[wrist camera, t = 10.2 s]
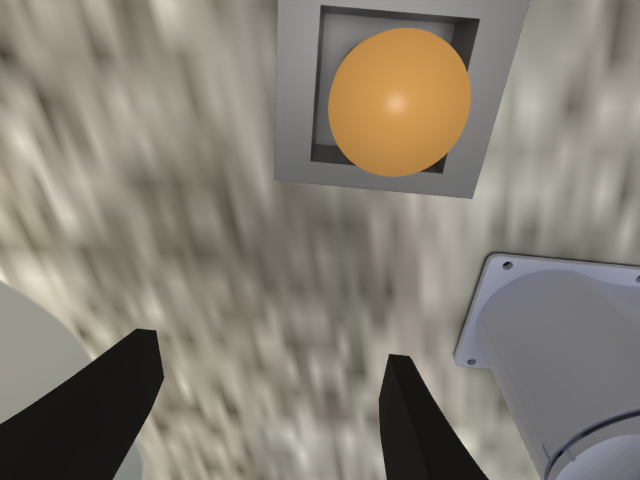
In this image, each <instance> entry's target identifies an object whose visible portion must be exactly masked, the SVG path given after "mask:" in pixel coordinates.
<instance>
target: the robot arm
mask: <svg viewBox="0 0 640 480" xmlns="http://www.w3.org/2000/svg"><path fill="white" fill-rule="evenodd" d="M509 261H510V263H509V264H508V265H506V266H503V264H504V263H505V262H509ZM638 276H640V267H635V266H624V265H614V264H604V263H593V262H583V261H573V260H562V259H552V258H541V257H531V256H521V255H510V254H500V253H497V254H493V255H491V256H489V257H488V259H487V260H486V263H485V266H484V269H483V272H482V275H481V278H480V281H479V284H478V287H477V290H476V293H475V296H474V299H473V302H472V305H471V308H470V310H469V313H468V316H467V319H466V322H465V325H464V328H463V331H462V334H461V337H460V340H459V343H458V346H457V349H456V352H455V355H454V360H455V363H456V364H457V365H458V366H462V367H472V368H481V369H490V370H491V372H492V374H493V376H494V378H495V381H496V383H497V385H498V387H499V389H500V392H501V394H502V396H503V398H504V400H505V402H506V405H507V407H508V409H509V411H510V413H511V415H512V418H513V420H514V422H515V424H516V426H517V428H518V431H519V433H520V435H521V437H522V439H523V442H524V444H525V446H526V448H527V450H528V452H529V455H530V457H531V459H532V461H533V463H534V465H535V468H536V470H537V472H538V474H539V476H540V479H541V480H640V277H638ZM637 277H638V278H637ZM470 359H472V360H470ZM163 379H164V374H163V368H162V362H161V356H160V350H159V344H158V339H157V333H156V331H155V330H145V329H136V330H134V331H133V332H131V333H130V334H129V335H127V336H126V337H125V338H123V339H122V340H121V341H119V342H118V343H117V344H115V345H114V346H113V347H111V348H110V349H109V350H107V351H106V352H105V353H103V354H102V355H101V356H99V357H98V358H97V359H96V360H94V361H93V362H91V363H90V364H89V365H87V366H86V367H85V368H83V369H82V370H81V371H79V372H78V373H77V374H75V375H74V376H72V377H71V378H70V379H68V380H67V381H65V382H64V383H62V384H61V385H59V386H58V387H57V388H55V389H54V390H52V391H51V392H49V393H48V394H46V395H45V396H43V397H42V398H40V399H39V400H38V401H36V402H35V403H33V404H32V405H30V406H29V407H27V408H26V409H24V410H22V411H21V412H19V413H18V414H16V415H14V416H13V417H11V418H10V419H8V420H6V421H5V422H3V423H1V424H0V480H113V478H114V476H115V474H116V472H117V471H118V469H119V467H120V465H121V464H122V462H123V460H124V458H125V456H126V455H127V453H128V451H129V449H130V447H131V445H132V444H133V442H134V440H135V438H136V437H137V435H138V433H139V431H140V429H141V428H142V426H143V424H144V422H145V420H146V418H147V417H148V415H149V413H150V411H151V409H152V406H153V404H154V402H155V399H156V397H157V395H158V392H159V390H160V387H161V384H162V382H163ZM379 418H380V435H381V443H382V449H383V456H384V463H385V470H386V476H387V480H489V479H488V478H487V477H486V475H485V474H484V473H483V471H482V470H481V469H480V467H479V466H478V465H477V463H476V462H475V461H474V459H473V458H472V457H471V455H470V454H469V452H468V451H467V449H466V448H465V447H464V445H463V444H462V442H461V441H460V439H459V438H458V436H457V435H456V433H455V432H454V430H453V429H452V427H451V426H450V424H449V423H448V421H447V420H446V418H445V416H444V415H443V413H442V412H441V410H440V408H439V407H438V405H437V404H436V402H435V400H434V399H433V397H432V395H431V393H430V392H429V390H428V388H427V386H426V385H425V383H424V381H423V379H422V378H421V376H420V374H419V372H418V370H417V368H416V366H415V364H414V362H413V360H412V359H411V358H410V356H404V355H394V354H389V357H388V361H387V366H386V370H385V375H384V379H383V384H382V388H381V392H380V397H379Z"/></svg>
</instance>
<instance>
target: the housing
mask: <svg viewBox="0 0 640 480" xmlns="http://www.w3.org/2000/svg"><path fill="white" fill-rule="evenodd" d="M529 3H530V0H278V21H277V70H276V119H275V167H274V180H278V181H288V182H299V183H310V184H320V185H331V186H341V187H352V188H363V189H373V190H384V191H395V192H405V193H416V194H427V195H437V196H448V197H458V198H469V199H472V198H473V195H474V191H475V188H476V184H477V181H478V178H479V174H480V171H481V167H482V164H483V160H484V157H485V154H486V150H487V147H488V143H489V140H490V136H491V133H492V130H493V126H494V123H495V119H496V116H497V112H498V109H499V106H500V102H501V99H502V95H503V92H504V88H505V85H506V82H507V78H508V75H509V71H510V68H511V64H512V61H513V58H514V54H515V51H516V47H517V44H518V40H519V37H520V34H521V30H522V27H523V23H524V20H525V16H526V13H527V10H528V6H529Z"/></svg>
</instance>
